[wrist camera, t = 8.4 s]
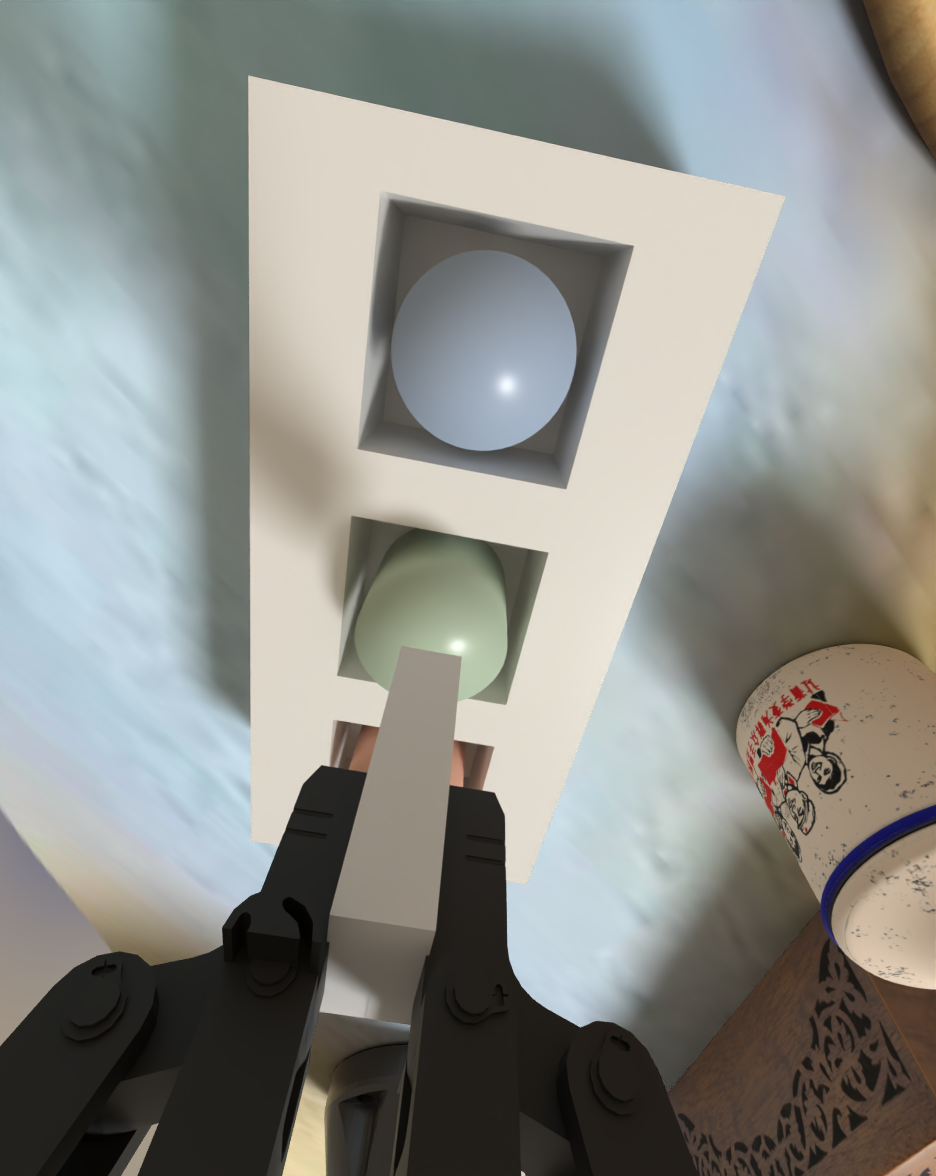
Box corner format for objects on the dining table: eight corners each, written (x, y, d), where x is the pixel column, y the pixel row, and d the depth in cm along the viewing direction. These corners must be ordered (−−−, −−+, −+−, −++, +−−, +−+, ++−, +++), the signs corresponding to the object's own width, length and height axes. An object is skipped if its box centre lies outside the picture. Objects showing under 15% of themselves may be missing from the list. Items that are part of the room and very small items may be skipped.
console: (521, 792, 28) (526, 884, 24) (289, 754, 28) (251, 840, 23) (708, 223, 17) (785, 196, 12) (315, 136, 16) (248, 75, 12)
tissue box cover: (836, 1116, 44) (921, 1319, 36) (664, 1091, 44) (708, 1292, 35) (1056, 935, 32) (1267, 1173, 24) (824, 896, 32) (952, 1128, 23)
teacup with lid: (749, 634, 23) (951, 898, 13) (972, 634, 23) (1362, 907, 13) (701, 826, 29) (816, 1117, 19) (879, 829, 29) (1098, 1129, 18)
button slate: (539, 433, 18) (550, 465, 15) (403, 406, 18) (381, 432, 15) (576, 278, 16) (599, 272, 13) (423, 245, 16) (403, 230, 12)
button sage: (491, 646, 21) (490, 715, 18) (373, 624, 21) (348, 690, 17) (517, 537, 19) (523, 591, 16) (386, 512, 19) (361, 562, 15)
